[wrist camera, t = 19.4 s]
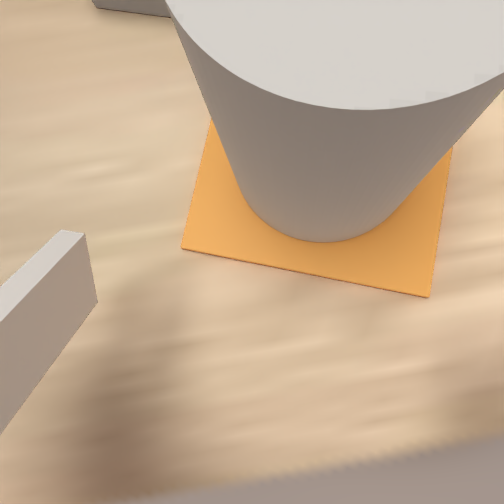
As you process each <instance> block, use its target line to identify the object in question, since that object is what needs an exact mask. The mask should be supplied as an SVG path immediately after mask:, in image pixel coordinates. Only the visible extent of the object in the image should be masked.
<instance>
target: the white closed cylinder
mask: <svg viewBox="0 0 504 504" xmlns="http://www.w3.org/2000/svg"><path fill="white" fill-rule="evenodd" d="M165 2H166V5H167V8H168V10H169V13H170V15H171V18H172V20H173V23H174V25H175V28H176V30H177V33H178V35H179V38H180V40H181V43H182V45H183V48H184V50H185V53H186V55H187V58H188V60H189V63H190V65H191V68H192V70H193V73H194V75H195V78H196V80H197V83H198V85H199V88H200V90H201V93H202V95H203V98H204V100H205V103H206V105H207V108H208V110H209V113H210V115H211V118H212V120H213V123H214V126H215V128H216V131H217V133H218V136H219V138H220V141H221V143H222V146H223V148H224V151H225V153H226V156H227V158H228V161H229V163H230V166H231V168H232V171H233V173H234V176H235V178H236V181H237V183H238V186H239V188H240V190H241V193H242V195H243V197H244V198H245V200H246V202H247V203H248V205H249V206H250V207H251V209H252V210H253V211H254V212H255V213H256V214H257V215H258V216H259V217H260V218H261V219H262V220H263V221H264V222H265V223H267V224H268V225H269V226H271V227H272V228H274V229H276V230H277V231H279V232H281V233H283V234H285V235H288V236H290V237H293V238H296V239H300V240H304V241H310V242H337V241H343V240H347V239H351V238H354V237H357V236H360V235H362V234H364V233H366V232H368V231H370V230H372V229H373V228H375V227H376V226H378V225H379V224H381V223H382V222H383V221H385V220H386V219H387V218H388V217H389V216H390V215H391V214H392V213H393V212H394V211H395V210H396V209H397V207H398V206H399V205H400V204H401V203H402V202H403V201H404V200H405V199H406V197H407V196H408V195H409V194H410V193H411V192H412V191H413V190H414V188H415V187H416V186H417V185H418V184H419V183H420V182H421V181H422V180H423V178H424V177H425V176H426V175H427V174H428V173H429V172H430V171H431V169H432V168H433V167H434V166H435V165H436V164H437V163H438V162H439V161H440V159H441V158H442V157H443V156H444V155H445V154H446V153H447V152H448V151H449V149H450V148H451V147H452V146H453V145H454V144H455V143H456V142H457V140H458V139H459V138H460V137H461V136H462V135H463V134H464V133H465V132H466V130H467V129H468V128H469V127H470V126H471V125H472V124H473V123H474V121H475V120H476V119H477V118H478V117H479V116H480V115H481V114H482V113H483V111H484V110H485V109H486V108H487V107H488V106H489V105H490V104H491V103H492V101H493V100H494V99H495V98H496V97H497V96H498V95H499V94H500V92H501V91H502V90H503V89H504V0H165Z"/></svg>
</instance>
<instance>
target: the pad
mask: <svg viewBox="0 0 504 504" xmlns="http://www.w3.org/2000/svg"><path fill="white" fill-rule="evenodd" d="M452 147H453V146H452ZM452 147H451V148H450V149H449V151H448V152H447V153H446V154H445V155H444V156H443V157H442V158H441V159H440V161H439V162H438V163H437V164H436V165H435V166H434V167H433V168H432V169H431V171H430V172H429V173H428V174H427V175H426V176H425V177H424V178H423V180H422V181H421V182H420V183H419V184H418V185H417V186H416V187H415V188H414V190H413V191H412V192H411V193H410V194H409V195H408V196H407V197H406V199H405V200H404V201H403V202H402V203H401V204H400V205H399V206H398V207H397V209H396V210H395V211H394V212H393V213H392V214H391V215H390V216H389V217H388V218H387V219H386V220H385V221H383V222H382V223H381V224H379V225H378V226H376V227H375V228H373V229H372V230H370V231H368V232H366V233H364V234H362V235H360V236H357V237H354V238H351V239H347V240H343V241H337V242H310V241H304V240H300V239H296V238H293V237H290V236H288V235H285V234H283V233H281V232H279V231H277V230H276V229H274V228H272V227H271V226H269V225H268V224H267V223H265V222H264V221H263V220H262V219H261V218H260V217H259V216H258V215H257V214H256V213H255V212H254V211H253V210H252V209H251V207H250V206H249V205H248V203H247V202H246V200H245V198H244V197H243V195H242V193H241V190H240V188H239V186H238V183H237V181H236V178H235V176H234V173H233V171H232V168H231V166H230V163H229V161H228V158H227V156H226V153H225V151H224V148H223V146H222V143H221V141H220V138H219V136H218V133H217V131H216V128H215V126H214V123H213V120H212V118H211V122H210V126H209V131H208V135H207V139H206V143H205V147H204V151H203V156H202V160H201V164H200V168H199V172H198V176H197V181H196V185H195V189H194V193H193V197H192V201H191V206H190V210H189V214H188V218H187V222H186V226H185V231H184V235H183V239H182V243H181V248H182V249H186V250H191V251H196V252H201V253H206V254H211V255H216V256H221V257H226V258H231V259H236V260H241V261H246V262H251V263H256V264H261V265H266V266H271V267H276V268H280V269H285V270H290V271H295V272H300V273H305V274H310V275H315V276H320V277H325V278H330V279H335V280H340V281H345V282H350V283H355V284H360V285H365V286H370V287H375V288H380V289H385V290H390V291H395V292H400V293H405V294H410V295H415V296H420V297H425V298H428V297H429V296H430V289H431V283H432V276H433V270H434V263H435V257H436V250H437V244H438V237H439V231H440V225H441V218H442V212H443V205H444V199H445V192H446V186H447V179H448V173H449V166H450V160H451V153H452Z"/></svg>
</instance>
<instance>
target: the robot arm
mask: <svg viewBox="0 0 504 504" xmlns="http://www.w3.org/2000/svg"><path fill="white" fill-rule="evenodd" d="M97 303H98V301H97V296H96V290H95V285H94V280H93V274H92V269H91V264H90V259H89V253H88V248H87V243H86V238H85V234H84V233H78V232H73V231H67V230H62V229H61V230H60V231H59V232H58V233H56V234H55V235H54V236H53V237H52V238H51V239H50V240H49V241H48V242H47V243H46V244H45V245H44V246H43V247H42V248H41V249H40V250H39V251H38V252H36V253H35V254H34V255H33V256H32V257H31V258H30V259H29V260H28V261H27V262H26V263H25V264H24V265H23V266H22V267H21V268H20V269H19V270H18V271H16V272H15V273H14V274H13V275H12V276H11V277H10V278H9V279H8V280H7V281H6V282H5V283H4V284H3V285H2V286H1V287H0V434H1V433H2V432H3V430H4V429H5V428H6V426H7V425H8V424H9V422H10V421H11V419H12V418H13V417H14V415H15V414H16V413H17V411H18V410H19V409H20V407H21V406H22V404H23V403H24V402H25V400H26V399H27V398H28V396H29V395H30V394H31V392H32V391H33V390H34V388H35V387H36V385H37V384H38V383H39V381H40V380H41V379H42V377H43V376H44V375H45V373H46V372H47V371H48V369H49V368H50V366H51V365H52V364H53V362H54V361H55V360H56V358H57V357H58V356H59V354H60V353H61V352H62V350H63V349H64V347H65V346H66V345H67V343H68V342H69V341H70V339H71V338H72V337H73V335H74V334H75V332H76V331H77V330H78V328H79V327H80V326H81V324H82V323H83V322H84V320H85V319H86V318H87V316H88V315H89V313H90V312H91V311H92V309H93V308H94V307H95V305H96V304H97Z"/></svg>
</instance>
